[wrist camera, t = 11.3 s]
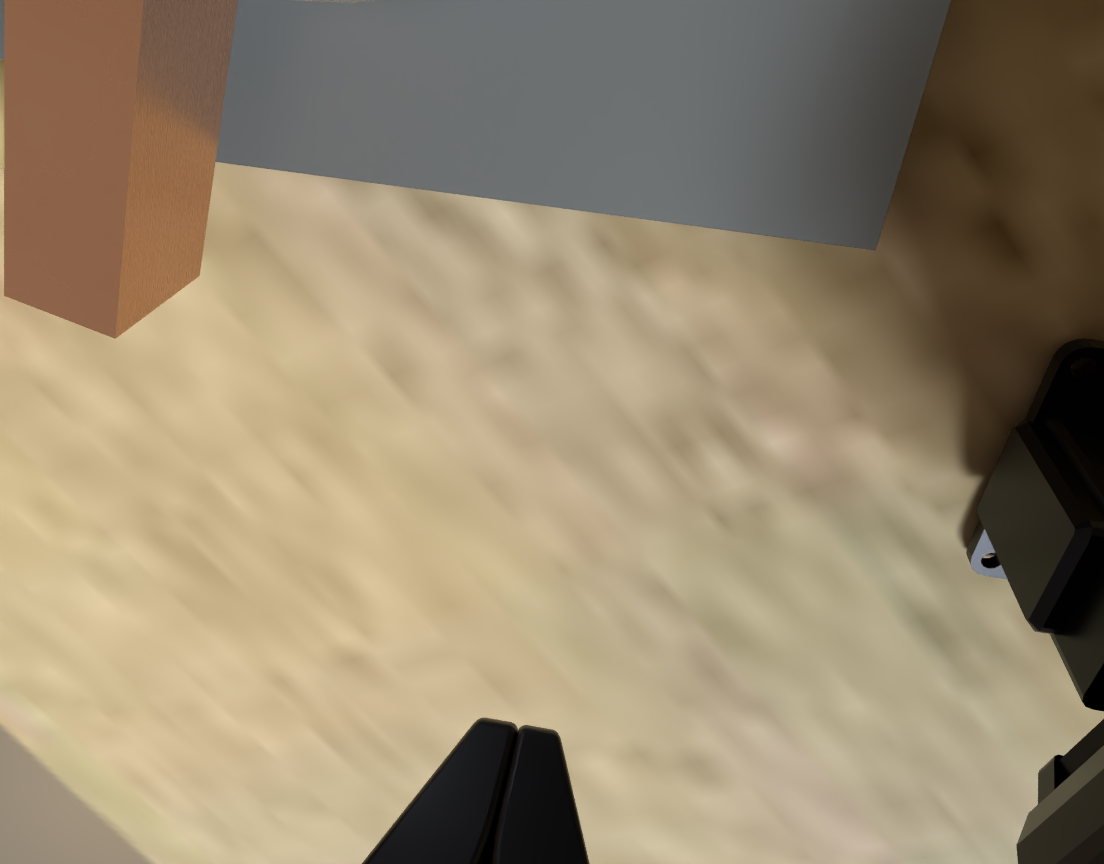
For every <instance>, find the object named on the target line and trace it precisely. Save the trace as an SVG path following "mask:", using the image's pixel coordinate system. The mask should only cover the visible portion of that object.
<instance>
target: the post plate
mask: <svg viewBox="0 0 1104 864" xmlns="http://www.w3.org/2000/svg"><path fill="white" fill-rule="evenodd" d="M950 3H951V0H374V1H365V2H356V3H335V2H312V1H293V0H238V4H237V11H236V18H235V25H234V32H233V39H232V47H231V54H230V61H229V68H228V75H227V82H226V89H225V97H224V104H223V111H222V118H221V125H220V132H219V140H218V147H217V154H216V161H215V162H221V163H229V164H236V165H244V166H251V167H258V168H266V169H273V170H281V171H288V172H296V173H303V174H311V175H318V176H326V177H333V178H341V179H348V180H355V181H363V182H370V183H378V184H385V185H393V186H400V187H408V188H415V189H423V190H430V191H438V192H445V193H452V194H460V195H467V196H475V197H482V198H490V199H497V200H505V201H512V202H520V203H527V204H535V205H542V206H549V207H557V208H564V209H572V210H579V211H587V212H594V213H602V214H609V215H617V216H624V217H632V218H639V219H646V220H654V221H661V222H669V223H676V224H684V225H691V226H699V227H706V228H714V229H721V230H729V231H736V232H743V233H751V234H758V235H766V236H773V237H781V238H788V239H796V240H803V241H811V242H818V243H826V244H833V245H840V246H848V247H855V248H863V249H870V250H876V247H877V244H878V240H879V237H880V234H881V230H882V227H883V224H884V221H885V217H886V214H887V211H888V207H889V204H890V201H891V197H892V194H893V191H894V188H895V184H896V181H897V178H898V174H899V171H900V168H901V165H902V161H903V158H904V155H905V151H906V148H907V145H908V141H909V138H910V135H911V132H912V128H913V125H914V122H915V118H916V115H917V112H918V109H919V105H920V102H921V99H922V95H923V92H924V89H925V85H926V82H927V79H928V76H929V72H930V69H931V66H932V62H933V59H934V56H935V53H936V49H937V46H938V43H939V39H940V36H941V33H942V29H943V26H944V23H945V20H946V16H947V13H948V10H949V6H950ZM0 168H2V169H4V0H0Z"/></svg>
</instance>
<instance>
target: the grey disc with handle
mask: <svg viewBox="0 0 1104 864" xmlns="http://www.w3.org/2000/svg"><path fill="white" fill-rule="evenodd" d="M293 1H312V2H335V3H356V2H365V1H374V0H293ZM237 4H238V0H4V296H6V297H9V298H12V299H14V300H17V301H19V302H22V303H25V304H27V305H30V306H32V307H35V308H37V309H40V310H43V311H45V312H48V313H50V314H53V315H56V316H58V317H61V318H63V319H66V320H69V321H71V322H74V323H76V324H79V325H81V326H84V327H87V328H89V329H92V330H94V331H97V332H100V333H102V334H105V335H107V336H110V337H112V338H117V337H118V336H119V335H121V334H122V333H123V332H125V331H126V330H127V329H129V328H130V327H132V326H133V325H134V324H136V323H137V322H138V321H140V320H141V319H142V318H144V317H145V316H146V315H148V314H149V313H150V312H152V311H153V310H154V309H156V308H157V307H158V306H160V305H161V304H162V303H164V302H165V301H166V300H168V299H169V298H170V297H172V296H173V295H174V294H176V293H177V292H178V291H180V290H181V289H182V288H184V287H185V286H186V285H188V284H189V283H190V282H192V281H193V280H194V279H196V278H197V277H198V276H199V275H200V268H201V261H202V254H203V247H204V240H205V232H206V225H207V218H208V211H209V204H210V197H211V190H212V182H213V175H214V168H215V161H216V154H217V147H218V140H219V132H220V125H221V118H222V111H223V104H224V97H225V89H226V82H227V75H228V68H229V61H230V54H231V47H232V39H233V32H234V25H235V18H236V11H237Z"/></svg>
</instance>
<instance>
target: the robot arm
mask: <svg viewBox="0 0 1104 864" xmlns="http://www.w3.org/2000/svg"><path fill="white" fill-rule="evenodd" d="M1085 357H1089V362H1088V363H1087V364H1086V365H1085V366H1084V367H1082V368H1080V369H1077V370H1071V366H1072V365H1073V363H1074V362H1075V361H1076V360H1078V359H1080V358H1085ZM977 513H978V515H979V518H980V521H979V523H978V525H977V527H976V529H975V532H974V534H973V536H972V538H971V541H970V543H969V545H968V547H967V552H966V554H967V556H968V559H969V561H970V564H971V566H972V569H973V570H974V571H976V572H977V573H978V574H981V575H984V576H990V577H996V578H1002V579H1008V581H1009V584H1010V586H1011V588H1012V590H1013V592H1014V595H1015V597H1016V599H1017V601H1018V603H1019V606H1020V608H1021V610H1022V612H1023V614H1024V617H1025V619H1026V620H1027V622H1028V623H1029V624H1030V626H1031V627H1032V628H1033V630H1034V631H1035V632H1042V633H1048V634H1050V635H1051V638H1052V640H1053V642H1054V644H1055V646H1056V648H1057V650H1058V652H1059V654H1060V656H1061V658H1062V660H1063V663H1064V665H1065V667H1066V669H1067V671H1068V673H1069V675H1070V677H1071V679H1072V681H1073V683H1074V686H1075V688H1076V690H1077V692H1078V694H1079V696H1080V698H1081V700H1082V702H1083V703H1084V705H1085V706H1086V707H1088V708H1091V709H1093V710H1099V711H1104V342H1103V341H1096V340H1088V339H1078V340H1074V341H1071V342H1068V343H1066V344H1065V345H1063V346H1062V347H1061V348H1059V349H1058V351H1057V352H1056V353H1055V355H1054V356H1053V359H1052V361H1051V363H1050V365H1049V367H1048V370H1047V372H1046V374H1045V376H1044V379H1043V381H1042V383H1041V385H1040V387H1039V390H1038V392H1037V394H1036V396H1035V399H1034V401H1033V403H1032V405H1031V407H1030V410H1029V412H1028V414H1027V416H1026V418H1025V420H1024V421H1022V422H1021V423H1019V424H1018V425H1017V426H1015V427H1014V428H1013V429H1012V431H1011V433H1010V436H1009V438H1008V440H1007V442H1006V445H1005V447H1004V449H1003V451H1002V454H1001V456H1000V458H999V460H998V463H997V465H996V467H995V469H994V472H993V474H992V476H991V478H990V481H989V483H988V485H987V487H986V490H985V492H984V494H983V496H982V499H981V501H980V503H979V505H978V508H977ZM989 553H996V555H995V556H993V557H991V558H983V557H984V555H986V554H989ZM1017 856H1018V864H1104V719H1103V720H1102V721H1101V722H1100V723H1099V724H1098V725H1097V726H1096V727H1095V728H1093V729H1092V730H1091V731H1090V732H1089V733H1088V734H1087V735H1086V736H1085V737H1084V738H1083V739H1082V740H1081V741H1079V742H1078V743H1077V744H1076V745H1075V746H1074V747H1073V748H1072V749H1071V750H1070V751H1069V752H1068V753H1067V754H1065V755H1064V756H1062V755H1056V756H1054V757H1053V758H1052V759H1051V760H1050V761H1049V762H1048V763H1047V764H1046V765H1045V766H1044V767H1043V768H1042V769H1041V770H1039V773H1038V805H1037V806H1036V807H1035V808H1034V809H1033V810H1032V811H1030V812H1029V814H1028V816H1027V819H1026V822H1025V824H1024V827H1023V830H1022V832H1021V835H1020V838H1019V840H1018V843H1017ZM362 864H589V860H588V855H587V851H586V847H585V842H584V838H583V834H582V829H581V825H580V821H579V816H578V812H577V808H576V803H575V799H574V795H573V790H572V786H571V782H570V777H569V773H568V769H567V764H566V760H565V756H564V751H563V747H562V743H561V739H560V736H559V734H558V733H557V732H556V731H555V730H551V729H546V728H540V727H535V726H529V725H524V726H522V727H520V728H519V730H518V729H517V726H516V725H515V724H514V723H512V722H507V721H501V720H496V719H490V718H480V719H478V720H477V721H476V722H475V723H474V724H473V725H472V726H471V727H470V729H469V730H468V731H467V732H466V734H465V735H464V736H463V737H462V739H461V740H460V741H459V742H458V744H457V745H456V746H455V748H454V749H453V750H452V751H451V753H450V754H449V755H448V756H447V758H446V759H445V760H444V761H443V763H442V764H441V765H440V766H439V768H438V769H437V770H436V771H435V773H434V774H433V775H432V776H431V778H430V779H429V780H428V781H427V783H426V784H425V785H424V786H423V788H422V789H421V790H420V791H419V793H418V794H417V795H416V796H415V798H414V799H413V800H412V801H411V803H410V804H409V805H408V806H407V808H406V809H405V810H404V811H403V813H402V814H401V815H400V816H399V818H398V819H397V820H396V821H395V823H394V824H393V825H392V826H391V828H390V829H389V830H388V831H387V833H386V834H385V835H384V836H383V838H382V839H381V840H380V841H379V843H378V844H377V845H376V846H375V848H374V849H373V850H372V851H371V853H370V854H369V855H368V857H367V858H366V859H365V860H364V862H363V863H362Z"/></svg>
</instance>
